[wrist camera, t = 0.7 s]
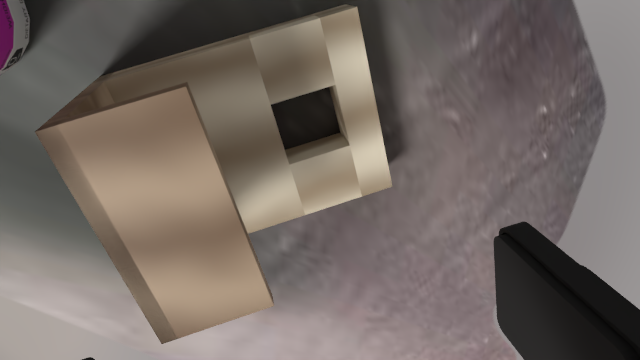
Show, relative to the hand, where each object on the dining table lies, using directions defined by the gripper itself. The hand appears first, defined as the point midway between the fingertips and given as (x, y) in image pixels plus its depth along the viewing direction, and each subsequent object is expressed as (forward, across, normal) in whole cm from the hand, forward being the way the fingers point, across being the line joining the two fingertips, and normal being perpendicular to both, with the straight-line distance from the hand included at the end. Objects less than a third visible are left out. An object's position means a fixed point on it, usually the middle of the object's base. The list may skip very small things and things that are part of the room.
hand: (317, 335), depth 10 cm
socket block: (+25, +1, +3) cm, 26 cm away
